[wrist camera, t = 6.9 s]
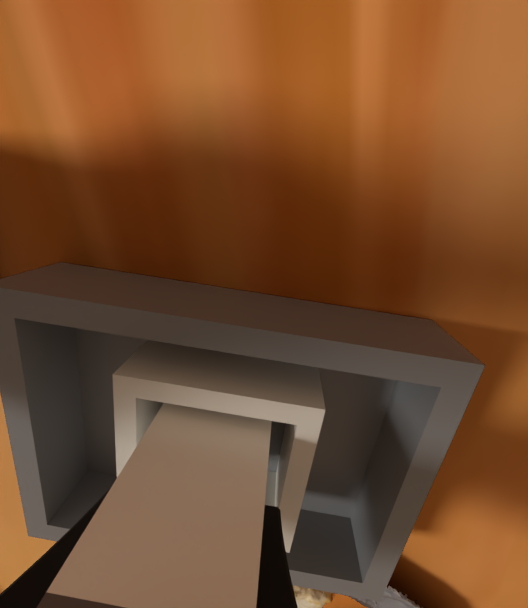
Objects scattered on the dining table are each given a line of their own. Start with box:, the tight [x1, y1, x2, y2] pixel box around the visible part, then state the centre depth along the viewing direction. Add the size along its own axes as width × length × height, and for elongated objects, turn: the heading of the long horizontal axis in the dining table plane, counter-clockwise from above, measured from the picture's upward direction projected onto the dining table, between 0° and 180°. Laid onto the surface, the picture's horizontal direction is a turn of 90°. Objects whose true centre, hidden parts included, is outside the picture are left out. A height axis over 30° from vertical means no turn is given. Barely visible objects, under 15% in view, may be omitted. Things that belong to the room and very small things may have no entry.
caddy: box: [0, 262, 485, 602], centre depth 13 cm, size 16×12×4 cm
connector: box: [37, 403, 272, 608], centre depth 9 cm, size 4×4×9 cm
